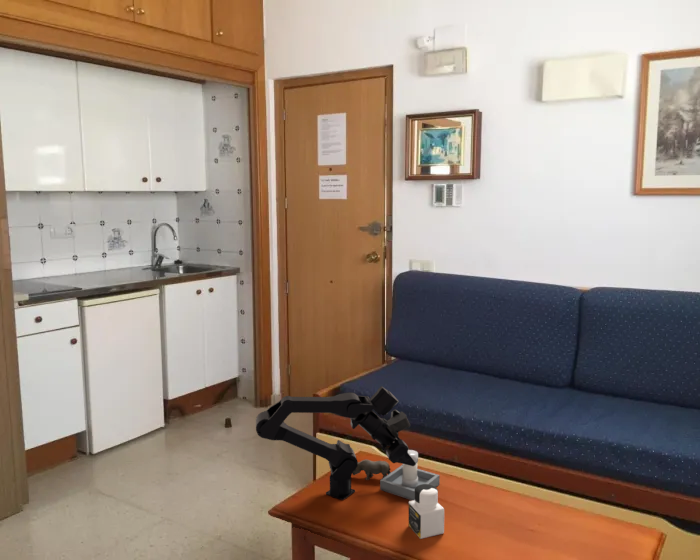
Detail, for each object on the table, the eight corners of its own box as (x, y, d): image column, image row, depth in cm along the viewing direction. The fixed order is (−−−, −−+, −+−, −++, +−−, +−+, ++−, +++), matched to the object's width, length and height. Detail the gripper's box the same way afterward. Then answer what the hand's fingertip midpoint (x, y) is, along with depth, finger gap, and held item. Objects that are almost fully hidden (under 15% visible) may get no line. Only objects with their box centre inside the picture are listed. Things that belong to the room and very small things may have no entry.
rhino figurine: (349, 473, 204) (349, 455, 203) (392, 476, 201) (392, 458, 200) (346, 479, 200) (346, 461, 199) (390, 482, 197) (390, 464, 196)
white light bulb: (416, 489, 191) (416, 457, 189) (400, 487, 192) (400, 455, 191) (419, 481, 196) (419, 450, 194) (404, 479, 197) (403, 449, 195)
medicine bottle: (408, 525, 173) (408, 484, 171) (431, 520, 175) (431, 479, 173) (420, 539, 166) (420, 496, 164) (444, 533, 169) (444, 491, 167)
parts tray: (417, 502, 185) (417, 492, 185) (380, 489, 193) (380, 480, 192) (439, 484, 196) (439, 475, 195) (402, 473, 203) (402, 464, 203)
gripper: (401, 417, 180) (438, 451, 184) (386, 395, 198) (421, 427, 202) (373, 446, 180) (411, 479, 184) (361, 421, 198) (396, 452, 202)
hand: (410, 458), depth 193 cm, fingers open, 9 cm apart
